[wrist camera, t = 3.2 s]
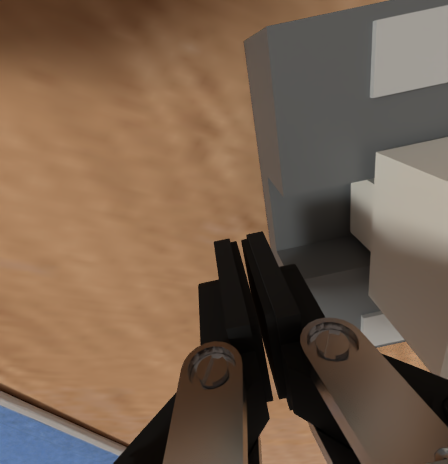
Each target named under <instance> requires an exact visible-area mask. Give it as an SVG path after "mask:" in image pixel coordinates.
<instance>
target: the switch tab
mask: <svg viewBox="0 0 448 464" xmlns="http://www.w3.org/2000/svg"><path fill="white" fill-rule="evenodd" d="M350 232H351V233H352V234H353V235H354V236H355V237H356V238H357V239H358V240H359V241H360V242H361V243H362V244H363V245H364V246H365V247H366V248H367V249H368V250H369V251H370V252H371V255H370V274H369V293H368V295H369V297H370V298H371V299H372V300H373V302H374V303H375V304H376V305H377V307H378V308H379V309H380V310H381V311H382V313H383V314H384V315H385V316H386V318H387V319H388V320H389V321H390V323H391V324H392V325H393V326H394V327H395V329H396V330H397V331H398V332H399V334H400V335H401V336H402V337H403V339H404V340H405V341H406V342H407V343H408V345H409V346H410V347H411V348H412V350H413V351H414V352H415V353H416V355H417V356H418V357H419V358H420V359H421V361H422V362H423V363H424V364H425V366H426V367H427V368H428V369H429V371H430V372H431V373H432V374H435V375H438V376H440V377H443V378H445V379H448V137H445V138H440V139H435V140H431V141H426V142H421V143H416V144H412V145H407V146H402V147H398V148H393V149H388V150H384V151H379V152H376V160H375V178H372V179H368V180H363V181H358V182H354V183H351V204H350Z"/></svg>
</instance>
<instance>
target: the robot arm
mask: <svg viewBox="0 0 448 464" xmlns="http://www.w3.org/2000/svg"><path fill="white" fill-rule="evenodd" d="M241 242H242V247H243V253H244V258H245V264H246V269H247V274H248V280H249V284H248V281H247V277H246V274H245V270H244V266H243V263H242V259H241V256H240V252H239V249H238V245H237V242H236V241H235V242H230V239H224V240H220V241H215V242H214V247H215V254H216V261H217V268H218V276H219V280H215V281H210V282H206V283H201V284H199V286H198V289H199V315H200V341H201V346H199V347H197V348H195V349H194V350H193V351H192V352H191V353H189V355H188V356H187V357H186V359H185V360H184V363H183V365H182V368H181V372H180V377H179V383H178V388H177V392H176V393H175V395H174V396H173V397H172V398H171V399H170V400H169V401H168V402H167V404H166V405H165V406H164V407H163V408H162V409H161V410H160V411H159V412H158V414H157V415H156V416H155V417H154V418H153V419H152V420H151V421H150V422H149V424H148V425H147V426H146V427H145V428H144V429H143V430H142V431H141V433H140V434H139V435H138V436H137V437H136V438H135V439H134V440H133V441H132V443H131V444H130V445H129V446H128V447H127V448H126V449H125V450H124V452H123V453H122V454H121V455H120V456H119V457H118V458H117V459H116V460H115V462H114V463H113V464H262V454H261V440H260V433H261V432H262V430H263V429H264V427H265V425H266V424H267V422H268V420H269V419H270V418H269V413H268V408H267V403H266V402H269V401H273V396H272V391H271V385H270V380H269V374H268V369H267V363H266V358H265V352H264V347H263V343H264V346H265V350H266V354H267V357H268V361H269V364H270V368H271V372H272V375H273V379H274V383H275V386H276V390H277V394H278V397H279V399H283V398H286V399H287V402H288V406H289V409H290V410H293V411H294V414H296V415H298V416H299V417H301V418H303V419H304V420H306V421H308V424H309V427H310V430H311V432H312V434H313V436H314V438H315V440H316V442H317V444H318V446H319V448H320V450H321V452H322V454H323V456H324V458H325V460H326V462H327V464H448V379H445V378H443V377H440V376H438V375H435V374H432V373H430V372H427V371H425V370H422V369H420V368H417V367H415V366H412V365H410V364H407V363H404V362H402V361H399V360H397V359H394V358H392V357H389V356H387V355H384V354H381V353H380V352H379V351H378V350H377V348H376V347H375V346H374V345H373V344H372V343H371V342H370V341H369V340H368V339H367V337H366V336H365V335H364V334H363V333H362V332H361V331H360V330H359V329H358V328H357V327H356V326H354V325H353V324H351V323H349V322H347V321H345V320H342V319H338V318H326V317H325V316H324V314H323V312H322V310H321V308H320V307H319V305H318V303H317V301H316V300H315V298H314V296H313V294H312V292H311V291H310V289H309V287H308V285H307V283H306V282H305V280H304V278H303V276H302V275H301V273H300V271H299V269H298V267H297V266H296V264H289V265H285V266H280V267H279V266H278V263H277V261H276V259H275V257H274V255H273V253H272V251H271V248H270V246H269V244H268V242H267V240H266V238H265V235H264V233H263V232H257V233H252V234H248V235H247V239H244V240H241ZM249 285H250V288H249ZM250 290H251V291H250ZM262 339H263V341H262Z"/></svg>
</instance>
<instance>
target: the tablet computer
mask: <svg viewBox="0 0 448 464" xmlns="http://www.w3.org/2000/svg"><path fill="white" fill-rule="evenodd" d="M126 448H127V447H125V446H123V445H121V444H118V443H116V442H114V441H112V440H109V439H107V438H105V437H103V436H100V435H98V434H96V433H94V432H91V431H89V430H87V429H85V428H83V427H80V426H78V425H76V424H74V423H72V422H69V421H67V420H65V419H63V418H60V417H58V416H56V415H54V414H51V413H49V412H47V411H44V410H42V409H40V408H37V407H35V406H33V405H31V404H28V403H26V402H24V401H22V400H20V399H17V398H15V397H13V396H11V395H9V394H7V393H4V392H2V391H0V464H113V463H114V462H115V460H116V459H117V458H118V457H119V456H120V455H121V454H122V453H123V452H124V450H125V449H126Z"/></svg>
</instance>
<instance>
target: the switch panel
mask: <svg viewBox="0 0 448 464" xmlns="http://www.w3.org/2000/svg"><path fill="white" fill-rule="evenodd" d="M244 47H245V55H246V63H247V70H248V78H249V85H250V93H251V101H252V108H253V116H254V123H255V131H256V139H257V146H258V154H259V161H260V169H261V177H262V184H263V192H264V199H265V207H266V215H267V222H268V230H269V237H270V245H271V251H272V253H273V255H274V257H275V259H276V261H277V263H278V266H279V267H280V266H285V265H289V264H296V266H297V267H298V269H299V271H300V273H301V275H302V276H303V278H304V280H305V282H306V283H307V285H308V287H309V289H310V291H311V292H312V294H313V296H314V298H315V300H316V301H317V303H318V305H319V307H320V308H321V310H322V312H323V314H324V316H325V317H326V318H338V319H342V320H345V321H347V322H349V323H351V324H353V325H354V326H356V327H357V328H358V329H359V330H360V331H361V332H362V333H363V334H364V335H365V336H366V337H367V339H368V340H369V341H370V342H371V343H372V344H373V345H374V346H375V347H376V348H377V347H382V346H387V345H391V344H396V343H401V342H405V340H404V339H403V337H402V336H401V335H400V334H399V332H398V331H397V330H396V329H395V327H394V326H393V325H392V324H391V323H390V321H389V320H388V319H387V318H386V316H385V315H384V314H383V313H382V311H381V310H380V309H379V308H378V307H377V305H376V304H375V303H374V302H373V300H372V299H371V298H370V297H369V295H368V293H369V274H370V255H371V252H370V251H369V250H368V249H367V248H366V247H365V246H364V245H363V244H362V243H361V242H360V241H359V240H358V239H357V238H356V237H355V236H354V235H353V234H352V233H351V232H350V204H351V183H354V182H358V181H363V180H368V179H372V178H375V160H376V152H379V151H384V150H388V149H393V148H398V147H402V146H407V145H412V144H416V143H421V142H426V141H431V140H435V139H440V138H445V137H448V0H389V1H385V2H380V3H375V4H370V5H366V6H361V7H356V8H352V9H347V10H342V11H337V12H333V13H328V14H323V15H318V16H314V17H309V18H304V19H300V20H295V21H290V22H285V23H281V24H276V25H271V26H267V27H265V28H263V29H262V30H260V31H259V32H257V33H256V34H254V35H253V36H251V37H249V38H248V39H246V40H245V41H244Z"/></svg>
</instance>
